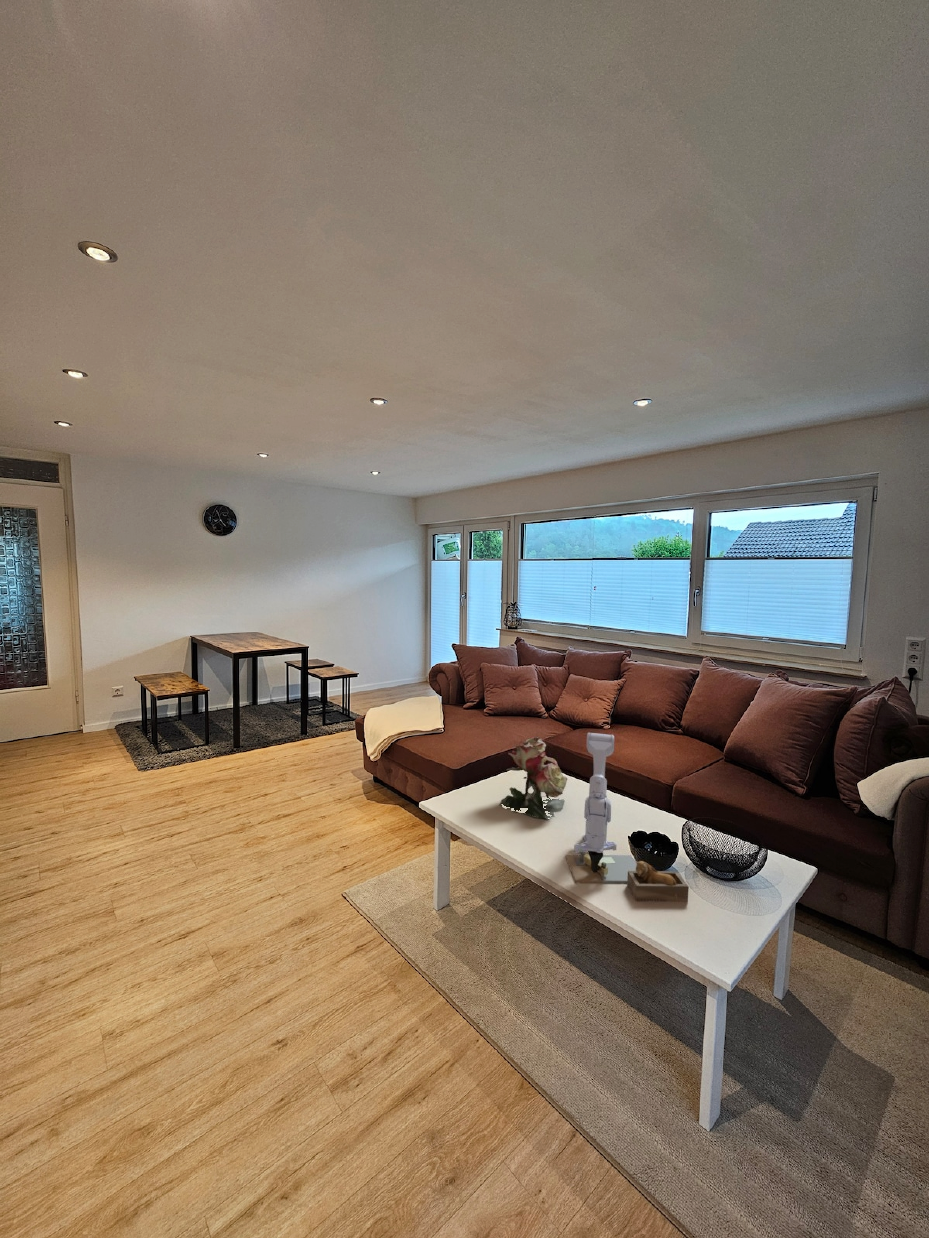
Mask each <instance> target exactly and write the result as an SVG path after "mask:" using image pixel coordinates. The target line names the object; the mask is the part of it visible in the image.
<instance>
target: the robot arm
mask: <svg viewBox="0 0 929 1238" xmlns="http://www.w3.org/2000/svg"><path fill="white" fill-rule="evenodd" d="M586 750H587V751H588V753H589V754H590V755H591V756H592V757H593V758H592V759H593V760H592V761H593V775H592V776H591V777H590V778H589V789H588V791H589V792H588V796H587V797H586V798H585V800H584V811H583V812H584V813H583V814H584V817H583V818H584V819H585V831H584V832H585V834H584V835H582V837H583V840H584V841H585V842H581V843H579V844H574V846H573V851H574V852H575V854H580V852H585V853H586V852H587V854H588V855H589V856H590V859H591V870H592V871H593V872H594V873H596V872H597V870H598V864H599V862H600V860H601V859H602V857H603V855H604V851H608V850H609V851H611V850H612V851H617V844H616V843H615V842H614V841H607V833H608V831H607V830H608V823H610V822H611V821H612V802H611V800H610V799H609V798H608V795H607V785H608V780H607V778H605V777H606V773H605V772H606V761H607V757H610V756H611V755H613V753H614V751H615V736H614V734H605V733H596V732H595V733H594V732H587V735H586Z"/></svg>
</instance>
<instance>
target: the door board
mask: <svg viewBox="0 0 929 1238" xmlns="http://www.w3.org/2000/svg"><path fill="white" fill-rule="evenodd" d="M584 855H586V852H579V854H565V856H564V857H565V859H566V862H567V864H568V867H569V869H570V872H571V875H572V877H573V880H574V882H575V883H577V884H581V883H584V884H588V883H589V884H590V883H591V884H594V883H597V884H627V879H628V871H636V864H637V862H636V861H635V860H634V857H633V856H632V855H629V854H603V857H602V859H601V860H600V863H602V862H604V863H606V866H607V867H608V874H607V875H602V874H601V873H599V872H598V871H597V872H596V873H594V872H593V871H592V870H591V867H590V866H589V865H587V864H586V863H584Z"/></svg>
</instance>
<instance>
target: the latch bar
mask: <svg viewBox="0 0 929 1238" xmlns="http://www.w3.org/2000/svg"><path fill="white" fill-rule="evenodd" d="M584 863H586V864H587V865H589V866H590V867H591V859H590V856H589V853H586V854H585V855H584ZM597 871H598V872H599V873H601V874H602V875H607V874H608V867H607V866H606V863H604V862H602V863H600V862H599V864H598V870H597Z"/></svg>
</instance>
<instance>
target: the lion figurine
mask: <svg viewBox="0 0 929 1238" xmlns="http://www.w3.org/2000/svg"><path fill="white" fill-rule="evenodd" d="M657 871H658V870H656V869H655V867H653V865H650V864H649V863H647V862H646V861H643V860H639V861H638V862H636V872H637V874H638V876H640V877H642V879H643V880H644V881H647V883H648V884H653V882H654V883H656V884H670V885H673V884H676V885H677V883H676V881H675V880H674V878H673V877H672V876H671V875H669V874H663V873H659V872H657ZM676 900H677V895H676V894H675V899H674V901H676ZM674 901H673V902H674Z"/></svg>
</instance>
